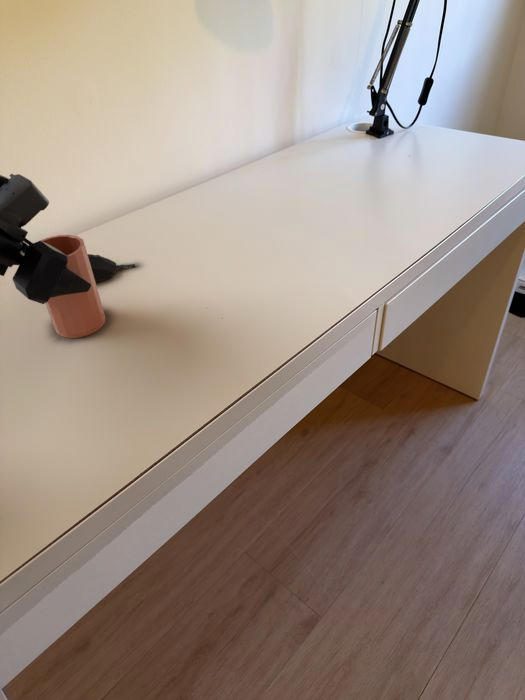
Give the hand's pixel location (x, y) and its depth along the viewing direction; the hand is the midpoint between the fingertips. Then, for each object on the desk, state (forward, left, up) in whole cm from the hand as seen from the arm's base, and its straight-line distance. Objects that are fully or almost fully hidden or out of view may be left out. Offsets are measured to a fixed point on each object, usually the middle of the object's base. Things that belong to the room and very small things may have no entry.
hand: (72, 275), depth 71 cm
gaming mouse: (+2, +13, -8) cm, 15 cm away
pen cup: (-1, 0, -7) cm, 8 cm away
